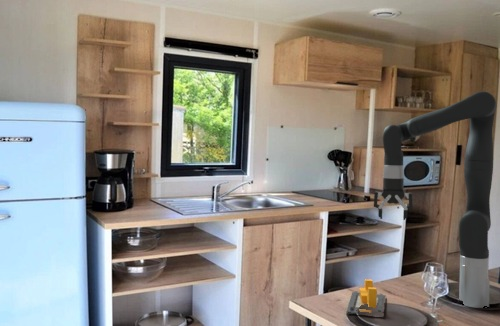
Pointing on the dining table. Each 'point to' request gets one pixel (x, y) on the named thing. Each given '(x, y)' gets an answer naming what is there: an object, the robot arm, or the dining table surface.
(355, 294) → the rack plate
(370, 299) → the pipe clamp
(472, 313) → the dining table surface
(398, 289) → the dining table surface
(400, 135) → the robot arm
